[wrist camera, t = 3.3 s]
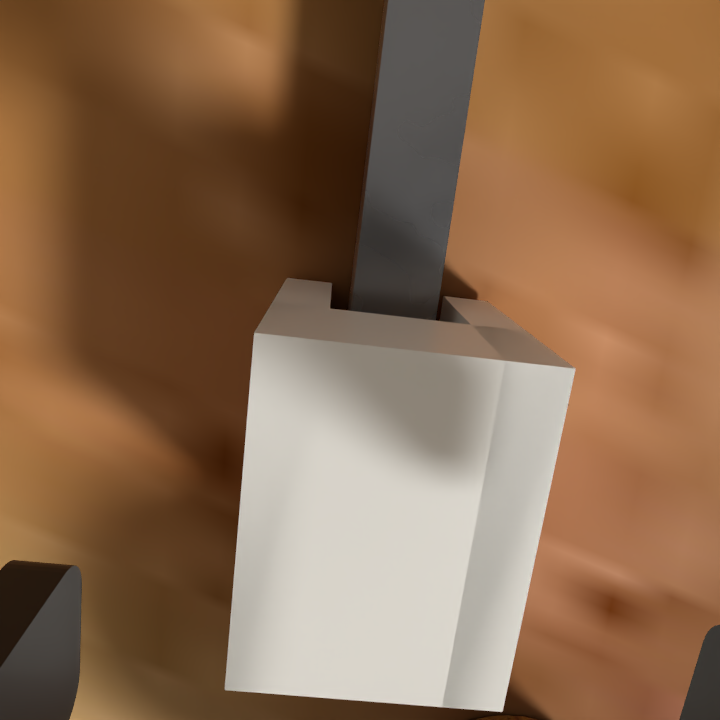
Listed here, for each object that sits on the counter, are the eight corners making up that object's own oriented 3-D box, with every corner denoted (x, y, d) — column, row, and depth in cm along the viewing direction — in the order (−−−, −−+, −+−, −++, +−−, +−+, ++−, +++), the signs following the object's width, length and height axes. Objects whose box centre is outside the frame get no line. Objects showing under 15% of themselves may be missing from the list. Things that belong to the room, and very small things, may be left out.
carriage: (486, 301, 18) (574, 368, 11) (447, 533, 19) (502, 711, 13) (286, 277, 17) (254, 332, 11) (264, 516, 19) (224, 690, 12)
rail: (519, -204, 15) (583, -344, 11) (398, 576, 20) (413, 670, 16) (388, -226, 15) (406, -376, 11) (300, 567, 20) (290, 660, 16)
